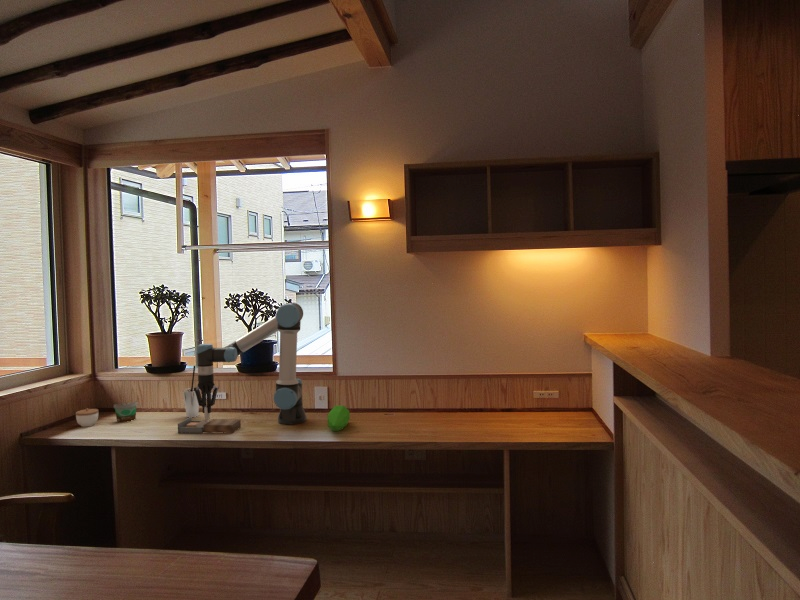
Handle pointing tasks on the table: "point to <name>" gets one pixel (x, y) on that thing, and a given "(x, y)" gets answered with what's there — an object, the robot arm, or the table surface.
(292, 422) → the robot arm
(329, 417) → the green oblong piece
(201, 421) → the cream tile
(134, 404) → the food container
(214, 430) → the walnut board
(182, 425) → the tray
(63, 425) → the table surface
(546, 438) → the table surface
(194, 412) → the utensil holder
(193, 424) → the terracotta tile
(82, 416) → the lidded jar
